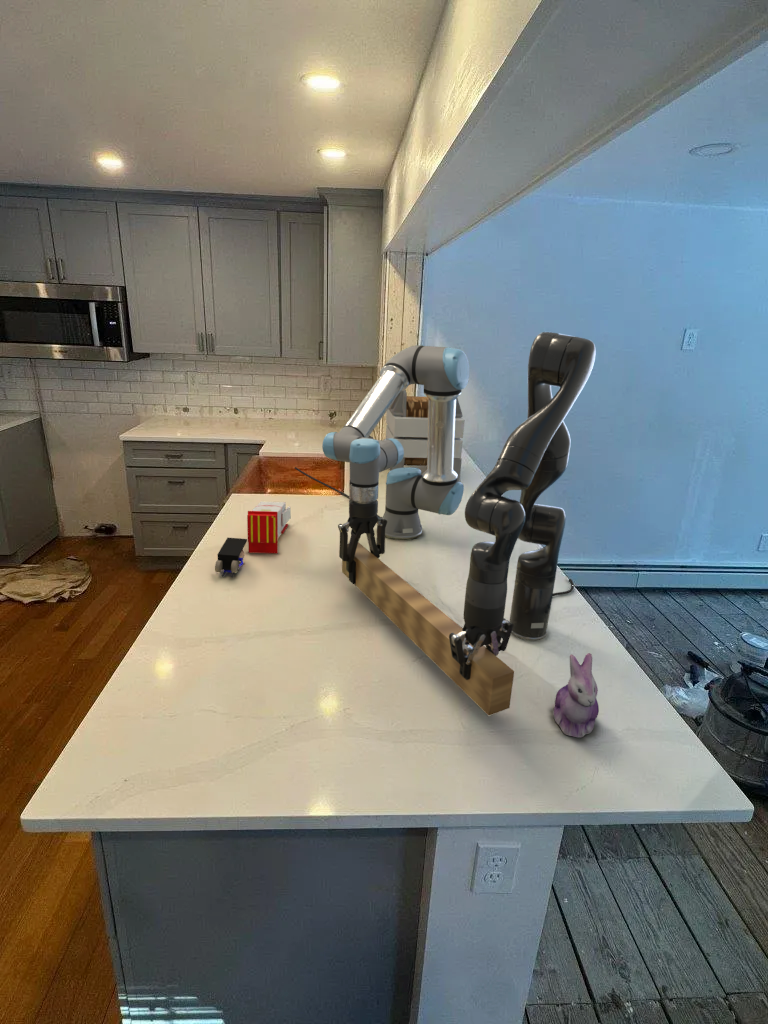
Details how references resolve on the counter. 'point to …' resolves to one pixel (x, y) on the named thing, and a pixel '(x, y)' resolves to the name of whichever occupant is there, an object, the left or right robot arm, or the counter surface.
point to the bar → (432, 632)
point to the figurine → (577, 700)
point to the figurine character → (230, 556)
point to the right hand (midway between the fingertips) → (477, 673)
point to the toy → (266, 526)
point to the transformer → (418, 430)
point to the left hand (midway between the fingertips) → (361, 579)
